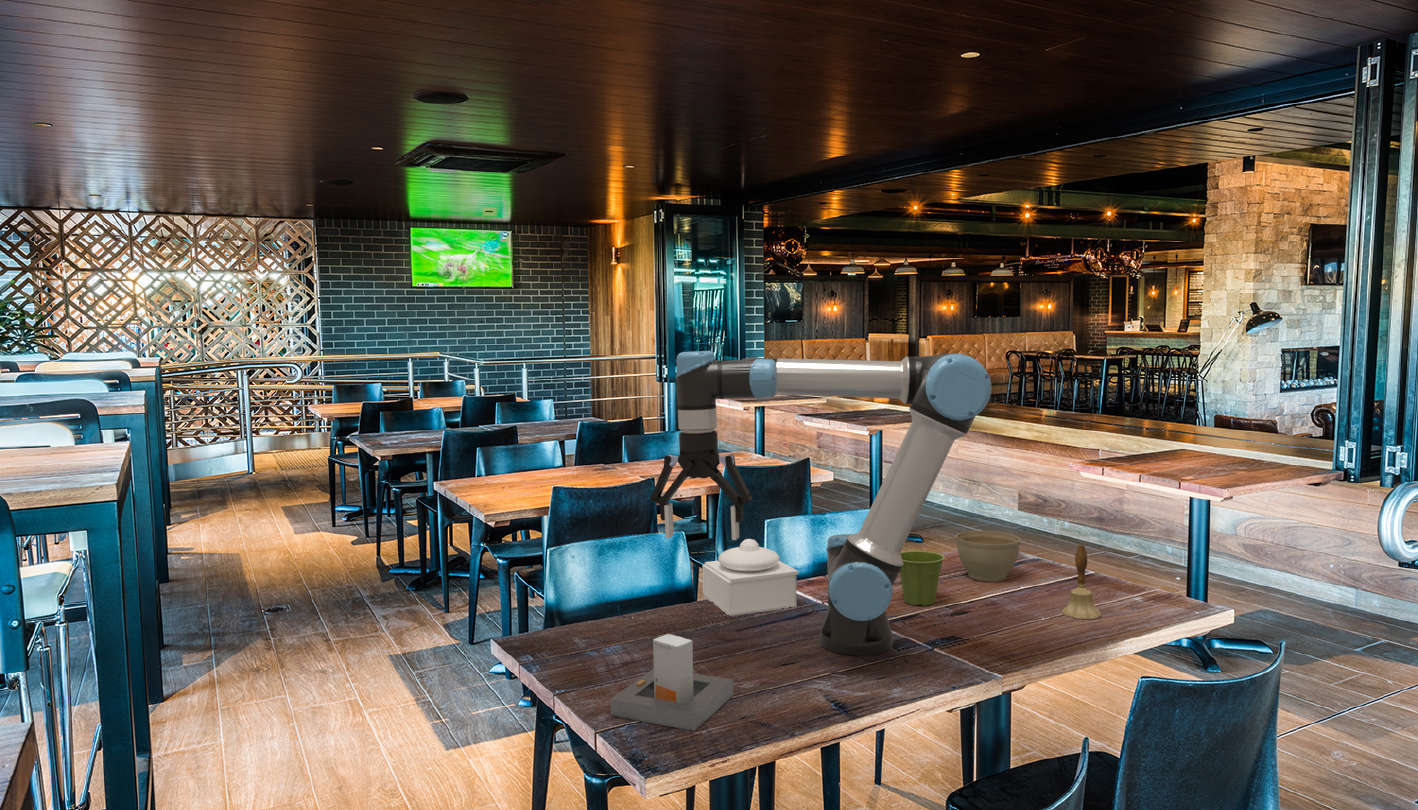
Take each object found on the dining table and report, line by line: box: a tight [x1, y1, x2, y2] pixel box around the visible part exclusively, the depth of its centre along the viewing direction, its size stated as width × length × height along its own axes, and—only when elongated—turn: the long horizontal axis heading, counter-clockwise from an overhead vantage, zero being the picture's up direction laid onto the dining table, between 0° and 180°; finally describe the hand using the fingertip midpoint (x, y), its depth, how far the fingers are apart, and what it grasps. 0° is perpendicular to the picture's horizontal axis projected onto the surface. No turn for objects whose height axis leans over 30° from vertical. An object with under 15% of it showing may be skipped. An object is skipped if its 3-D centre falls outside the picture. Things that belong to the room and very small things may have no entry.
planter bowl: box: [955, 530, 1021, 583], centre depth 239 cm, size 16×16×11 cm
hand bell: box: [1061, 544, 1102, 620], centre depth 207 cm, size 8×8×16 cm
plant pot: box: [899, 550, 946, 607], centre depth 219 cm, size 12×12×11 cm
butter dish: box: [701, 538, 800, 617], centre depth 222 cm, size 18×18×16 cm
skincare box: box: [652, 633, 694, 704], centre depth 161 cm, size 6×4×12 cm
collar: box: [610, 667, 734, 732], centre depth 161 cm, size 16×16×3 cm
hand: (702, 537), depth 180 cm, fingers open, 13 cm apart
